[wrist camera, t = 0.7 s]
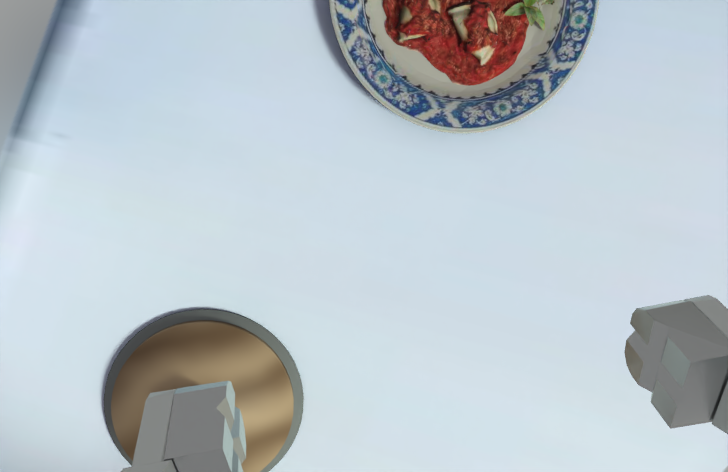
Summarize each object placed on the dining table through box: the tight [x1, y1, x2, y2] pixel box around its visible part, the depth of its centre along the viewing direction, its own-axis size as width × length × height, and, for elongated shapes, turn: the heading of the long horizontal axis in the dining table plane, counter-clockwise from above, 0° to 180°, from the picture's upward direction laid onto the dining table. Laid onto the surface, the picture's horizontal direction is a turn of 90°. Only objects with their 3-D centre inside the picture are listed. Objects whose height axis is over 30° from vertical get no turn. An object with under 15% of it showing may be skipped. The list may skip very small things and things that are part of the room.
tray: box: [104, 309, 303, 472], centre depth 60 cm, size 20×20×1 cm
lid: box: [111, 320, 294, 472], centre depth 57 cm, size 18×18×5 cm
